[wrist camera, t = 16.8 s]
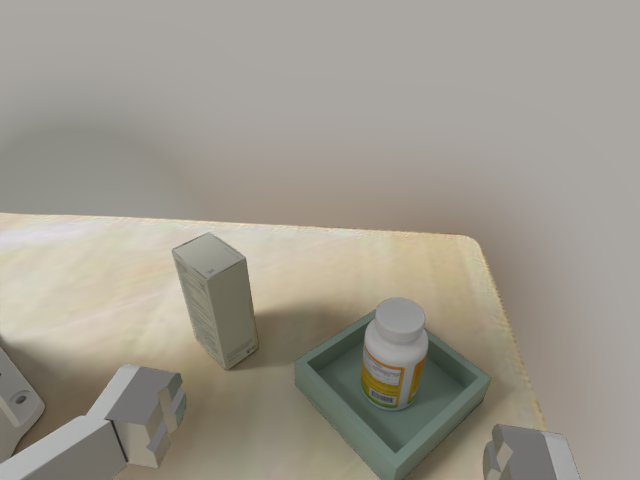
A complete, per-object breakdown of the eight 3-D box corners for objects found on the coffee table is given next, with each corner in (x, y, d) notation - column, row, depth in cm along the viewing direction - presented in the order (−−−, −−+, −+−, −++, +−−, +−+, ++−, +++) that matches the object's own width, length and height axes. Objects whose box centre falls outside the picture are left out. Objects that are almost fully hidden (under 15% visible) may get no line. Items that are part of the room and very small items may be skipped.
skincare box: (260, 348, 45) (250, 258, 38) (224, 373, 43) (207, 281, 36) (226, 317, 49) (211, 229, 42) (191, 338, 46) (169, 248, 39)
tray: (295, 384, 42) (294, 361, 40) (384, 323, 48) (388, 301, 46) (391, 490, 34) (396, 468, 32) (482, 401, 40) (491, 378, 38)
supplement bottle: (401, 358, 43) (415, 285, 37) (427, 403, 39) (447, 330, 33) (351, 370, 42) (357, 298, 36) (373, 419, 38) (383, 346, 32)
